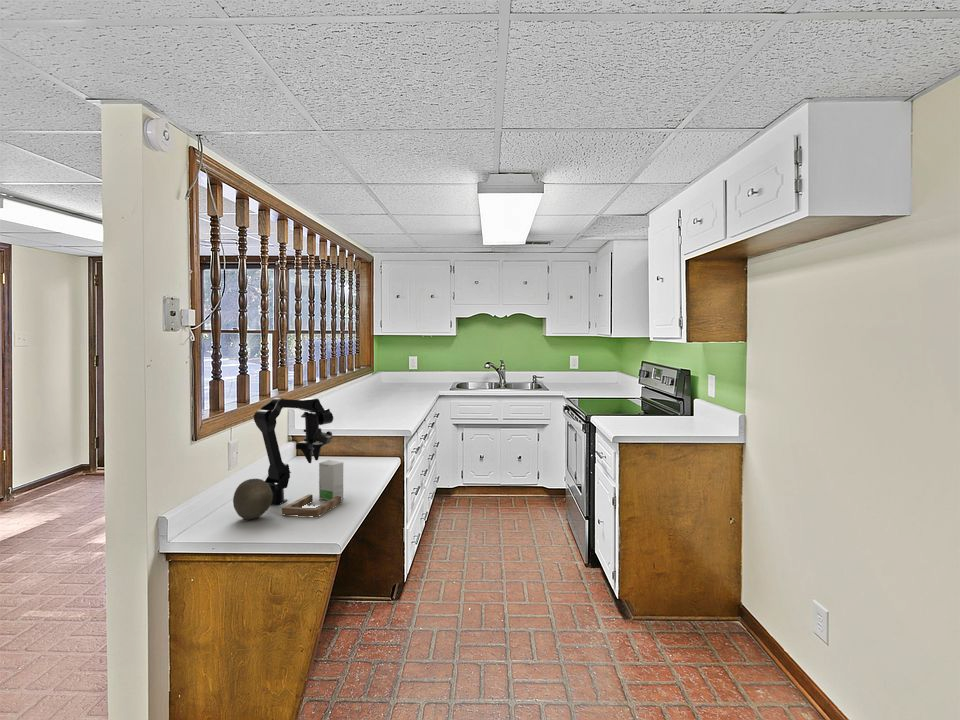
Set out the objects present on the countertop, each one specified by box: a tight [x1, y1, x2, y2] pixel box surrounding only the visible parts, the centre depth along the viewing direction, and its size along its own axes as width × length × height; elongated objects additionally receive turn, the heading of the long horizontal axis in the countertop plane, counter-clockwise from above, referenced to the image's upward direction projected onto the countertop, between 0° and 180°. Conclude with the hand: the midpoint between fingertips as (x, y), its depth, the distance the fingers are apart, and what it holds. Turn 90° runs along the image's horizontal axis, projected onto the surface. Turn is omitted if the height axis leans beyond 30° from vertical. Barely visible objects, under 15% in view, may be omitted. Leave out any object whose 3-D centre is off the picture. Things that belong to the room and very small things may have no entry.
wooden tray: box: [281, 493, 342, 518], centre depth 243 cm, size 20×15×3 cm
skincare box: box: [318, 459, 344, 501], centre depth 258 cm, size 8×7×16 cm
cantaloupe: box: [232, 478, 273, 520], centre depth 232 cm, size 14×14×15 cm
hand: (313, 461), depth 271 cm, fingers open, 5 cm apart
